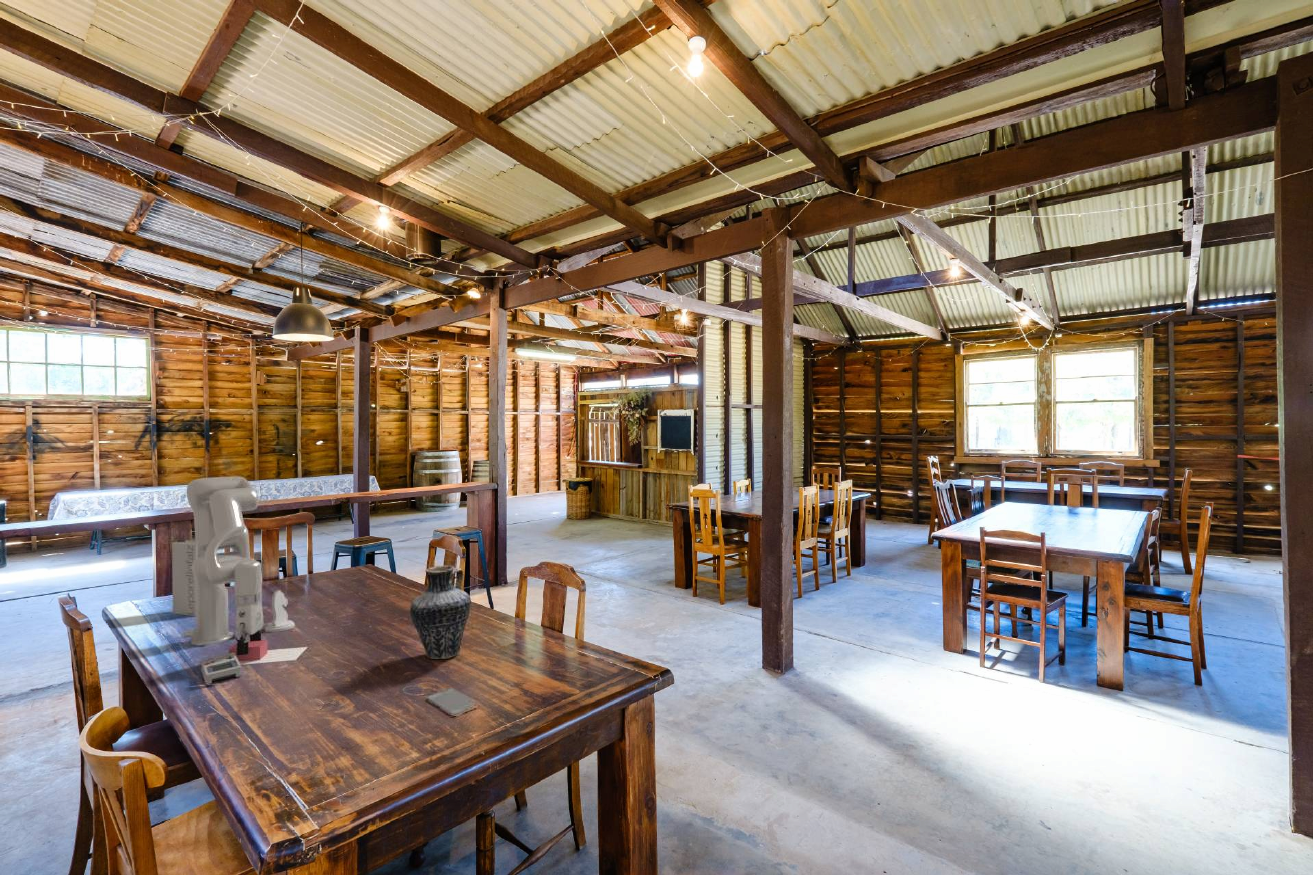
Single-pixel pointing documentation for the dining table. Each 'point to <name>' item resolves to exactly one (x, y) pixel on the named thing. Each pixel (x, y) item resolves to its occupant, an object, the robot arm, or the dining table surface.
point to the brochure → (184, 577)
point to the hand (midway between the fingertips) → (249, 649)
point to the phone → (451, 701)
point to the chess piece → (279, 614)
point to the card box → (252, 651)
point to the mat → (278, 655)
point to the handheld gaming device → (221, 667)
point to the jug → (441, 612)
